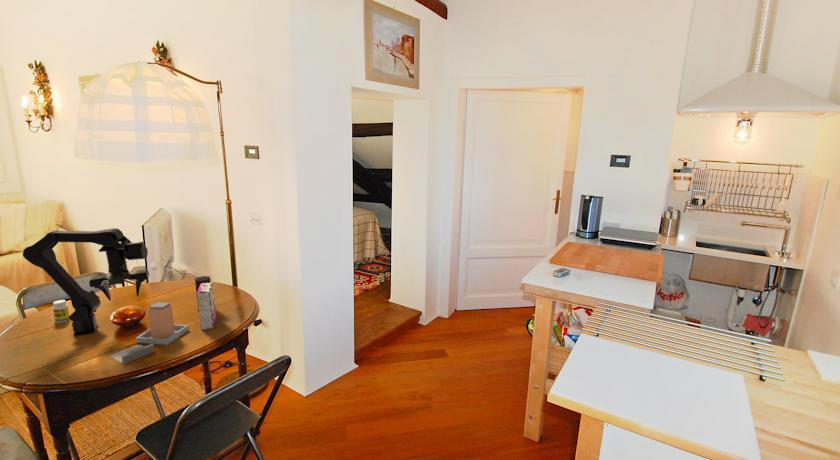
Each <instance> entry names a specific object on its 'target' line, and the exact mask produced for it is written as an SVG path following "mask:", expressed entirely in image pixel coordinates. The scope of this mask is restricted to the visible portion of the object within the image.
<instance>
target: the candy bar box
mask: <svg viewBox="0 0 840 460" xmlns="http://www.w3.org/2000/svg"><path fill="white" fill-rule="evenodd" d="M197 299H198V304H197V308H198V307H199V311H198V314H199V324H200V330H202V331H203V330H204V331H205V330H211V329H214V328H215V324H216V320H217V310H216V302H215V301H216V300H215V294H214V284H213V282H211V281H210V283H201V284H200V286H199V289H198V291H197V294H196V300H197Z"/></svg>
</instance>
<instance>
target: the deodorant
mask: <svg viewBox="0 0 840 460" xmlns="http://www.w3.org/2000/svg"><path fill="white" fill-rule="evenodd" d="M194 283H195V284H194V285H195V294H196V295H197V291H198V289H199V286H200V284H201V283H211V277H210V276H206V275H205V276H203V275H202V276H198V277H196V278H194ZM196 301H197V302H196V303H197V305H198V299H197V298H196ZM197 311H198V312H199V307H198V306H197Z"/></svg>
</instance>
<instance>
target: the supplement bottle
mask: <svg viewBox="0 0 840 460" xmlns="http://www.w3.org/2000/svg"><path fill="white" fill-rule="evenodd" d="M52 304H53V305H52V306H53V307H52V313H53V317H54V319H53V320H54V322H55V323H58V322H59V323H64V322H67V320H68V321H69V320H70V318H69V316H70V311H69V305H68V304H67V301H66V300H65V299H60V300H59V299H58V300H55V301H53V303H52Z"/></svg>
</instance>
